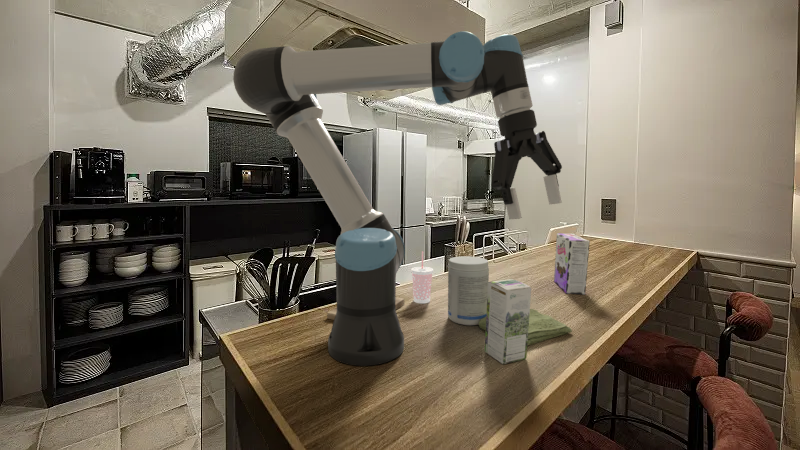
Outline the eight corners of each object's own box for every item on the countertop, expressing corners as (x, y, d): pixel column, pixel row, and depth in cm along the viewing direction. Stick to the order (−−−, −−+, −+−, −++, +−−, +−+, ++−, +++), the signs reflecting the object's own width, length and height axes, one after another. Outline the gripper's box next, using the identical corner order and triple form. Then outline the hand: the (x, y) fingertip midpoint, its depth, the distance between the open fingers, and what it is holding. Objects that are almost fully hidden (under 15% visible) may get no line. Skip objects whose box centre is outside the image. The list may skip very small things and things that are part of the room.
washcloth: (575, 335, 81) (576, 321, 81) (515, 352, 73) (516, 337, 73) (529, 316, 93) (530, 303, 92) (473, 328, 85) (474, 315, 84)
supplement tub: (495, 319, 89) (497, 260, 87) (472, 330, 83) (474, 266, 81) (462, 309, 96) (464, 254, 94) (439, 318, 90) (440, 259, 88)
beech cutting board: (369, 327, 84) (369, 321, 83) (327, 318, 89) (327, 312, 89) (404, 304, 100) (404, 298, 99) (366, 297, 105) (366, 292, 105)
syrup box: (507, 346, 75) (510, 277, 73) (528, 360, 69) (531, 285, 67) (484, 352, 72) (486, 280, 71) (503, 366, 67) (507, 288, 65)
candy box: (553, 281, 123) (556, 232, 121) (571, 282, 122) (574, 233, 120) (565, 293, 109) (569, 239, 107) (586, 294, 109) (590, 240, 107)
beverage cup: (413, 296, 106) (414, 248, 104) (434, 298, 105) (435, 249, 103) (408, 303, 100) (409, 252, 99) (430, 305, 99) (431, 254, 97)
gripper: (485, 115, 68) (510, 225, 70) (566, 102, 81) (585, 196, 83) (459, 126, 75) (483, 226, 77) (537, 112, 87) (556, 199, 89)
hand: (536, 211), depth 80 cm, fingers open, 13 cm apart
